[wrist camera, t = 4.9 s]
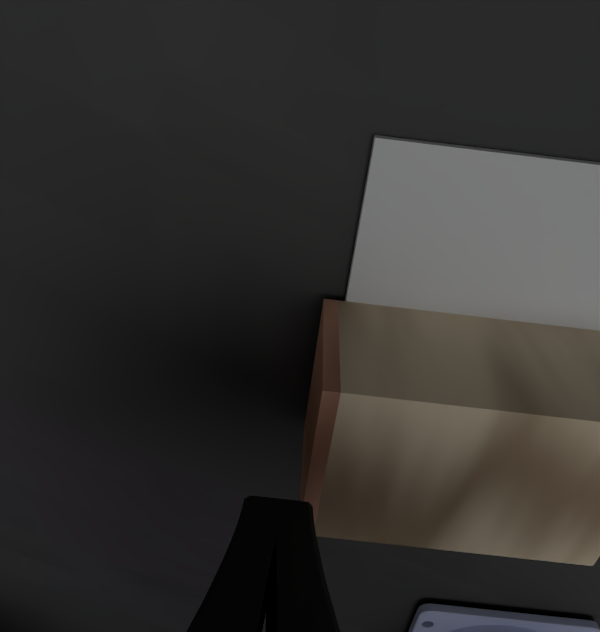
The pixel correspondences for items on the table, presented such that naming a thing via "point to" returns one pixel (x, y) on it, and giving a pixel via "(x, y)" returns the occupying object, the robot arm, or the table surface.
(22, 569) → the table surface
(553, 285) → the mat
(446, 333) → the maple block
